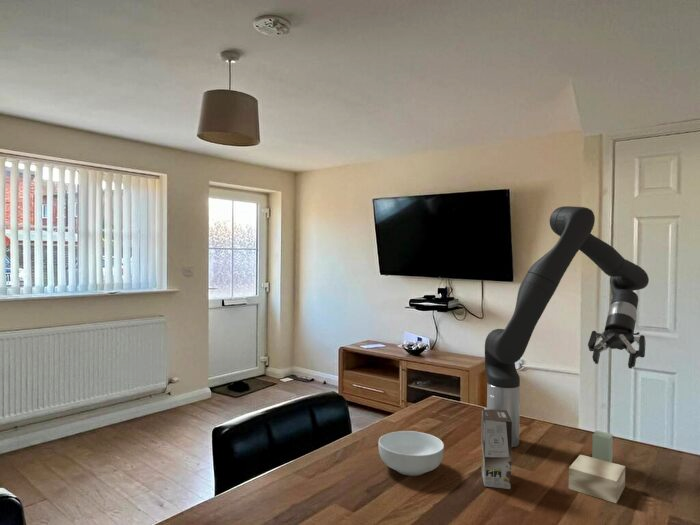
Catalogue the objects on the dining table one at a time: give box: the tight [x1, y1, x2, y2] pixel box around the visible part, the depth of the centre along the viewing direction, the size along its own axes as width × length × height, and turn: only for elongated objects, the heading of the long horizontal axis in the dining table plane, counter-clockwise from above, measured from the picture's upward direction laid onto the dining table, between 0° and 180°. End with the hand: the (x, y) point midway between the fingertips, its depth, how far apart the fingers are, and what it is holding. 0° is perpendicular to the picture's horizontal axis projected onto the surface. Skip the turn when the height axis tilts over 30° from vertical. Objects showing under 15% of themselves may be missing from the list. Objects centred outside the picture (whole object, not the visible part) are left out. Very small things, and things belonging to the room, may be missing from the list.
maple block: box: [568, 454, 626, 504], centre depth 111 cm, size 10×10×5 cm
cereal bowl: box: [377, 430, 445, 477], centre depth 120 cm, size 17×17×7 cm
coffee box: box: [480, 408, 513, 490], centre depth 114 cm, size 9×6×16 cm
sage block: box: [591, 430, 614, 463], centre depth 123 cm, size 4×4×8 cm
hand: (612, 364), depth 132 cm, fingers open, 8 cm apart
